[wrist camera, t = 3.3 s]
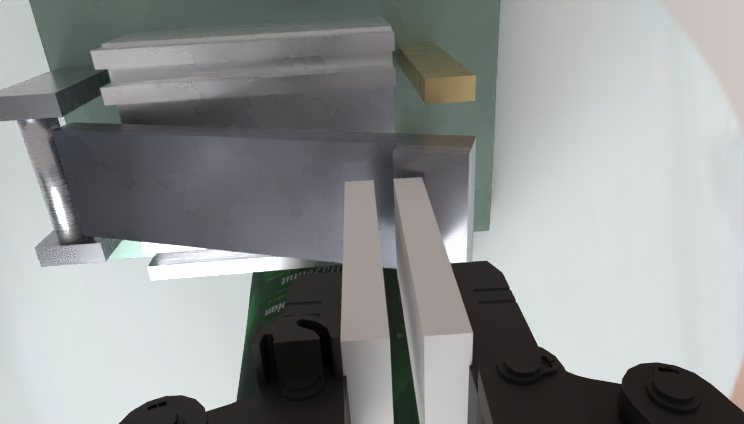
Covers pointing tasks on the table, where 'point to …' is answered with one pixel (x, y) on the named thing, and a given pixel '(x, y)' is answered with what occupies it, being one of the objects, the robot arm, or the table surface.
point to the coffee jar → (270, 307)
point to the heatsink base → (251, 90)
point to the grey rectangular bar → (259, 185)
